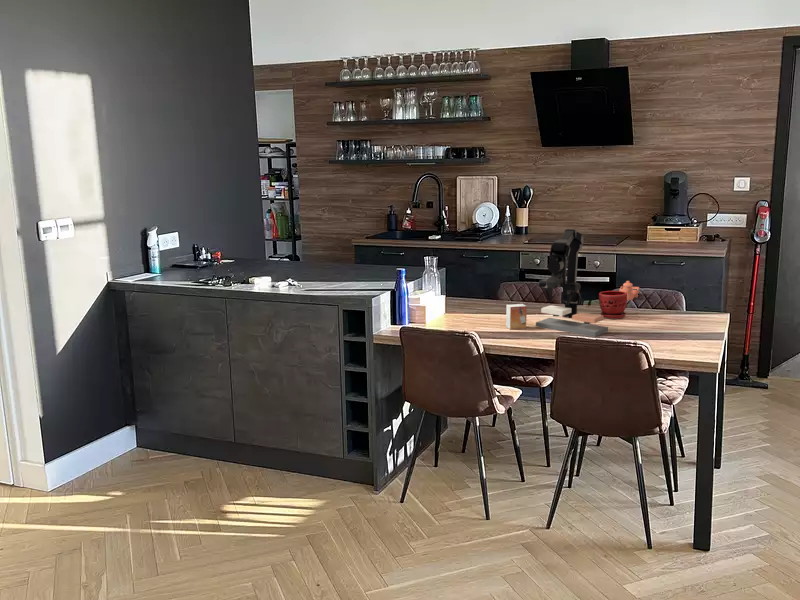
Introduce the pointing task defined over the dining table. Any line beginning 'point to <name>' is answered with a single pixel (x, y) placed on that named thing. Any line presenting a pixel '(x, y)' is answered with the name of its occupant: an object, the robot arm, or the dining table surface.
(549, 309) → the cream rectangular block
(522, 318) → the small box
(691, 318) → the dining table surface
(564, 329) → the key panel
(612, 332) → the dining table surface
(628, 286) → the pottery
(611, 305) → the plant pot
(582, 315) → the terracotta key
